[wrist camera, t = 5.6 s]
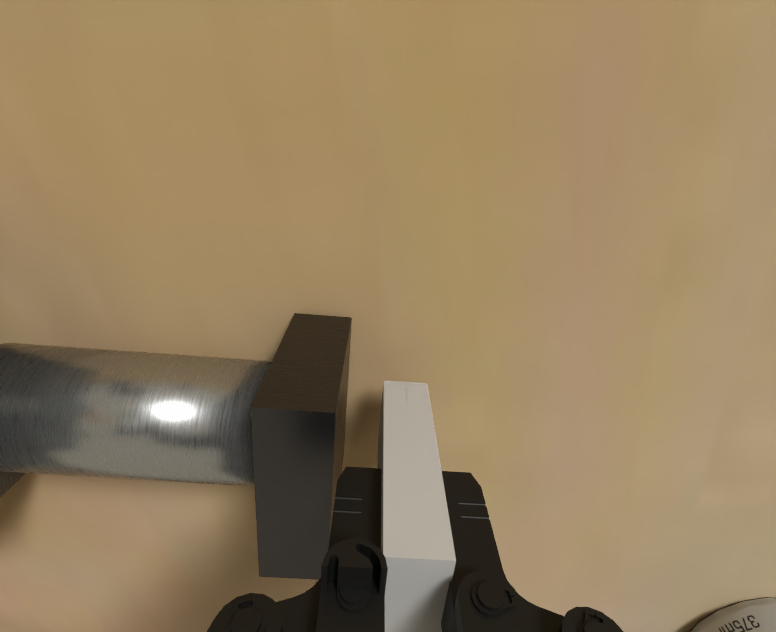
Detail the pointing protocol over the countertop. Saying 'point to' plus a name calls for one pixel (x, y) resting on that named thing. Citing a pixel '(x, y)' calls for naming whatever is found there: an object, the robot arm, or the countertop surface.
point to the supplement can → (742, 618)
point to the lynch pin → (194, 426)
